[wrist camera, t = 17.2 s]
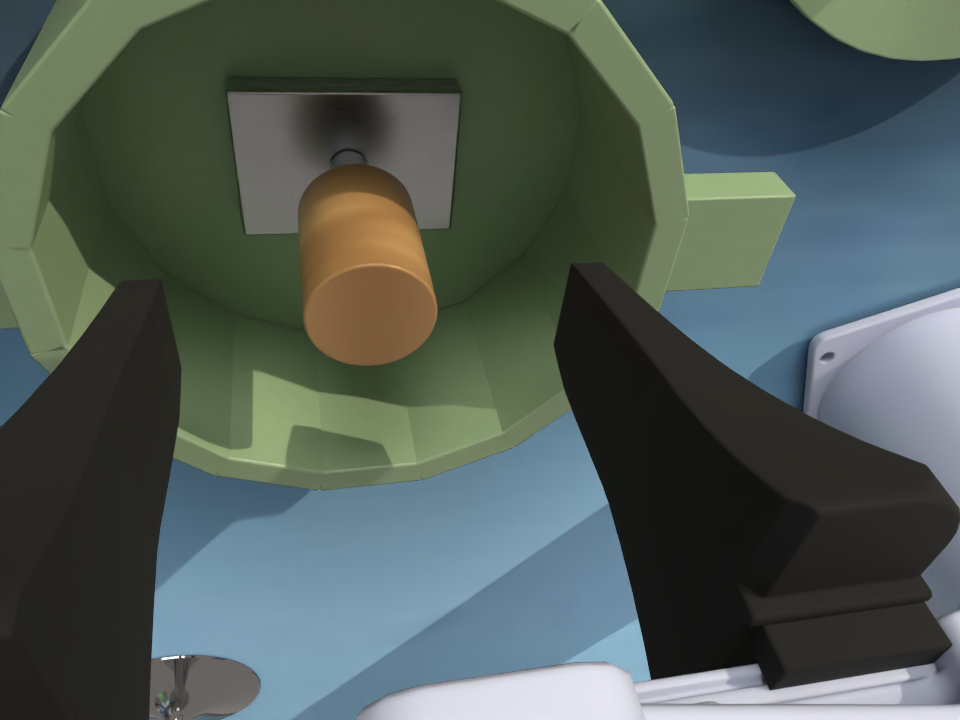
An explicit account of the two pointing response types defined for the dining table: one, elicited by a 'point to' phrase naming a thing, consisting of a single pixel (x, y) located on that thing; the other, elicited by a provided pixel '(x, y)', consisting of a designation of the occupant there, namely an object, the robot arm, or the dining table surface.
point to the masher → (351, 198)
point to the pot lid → (890, 26)
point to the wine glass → (199, 688)
